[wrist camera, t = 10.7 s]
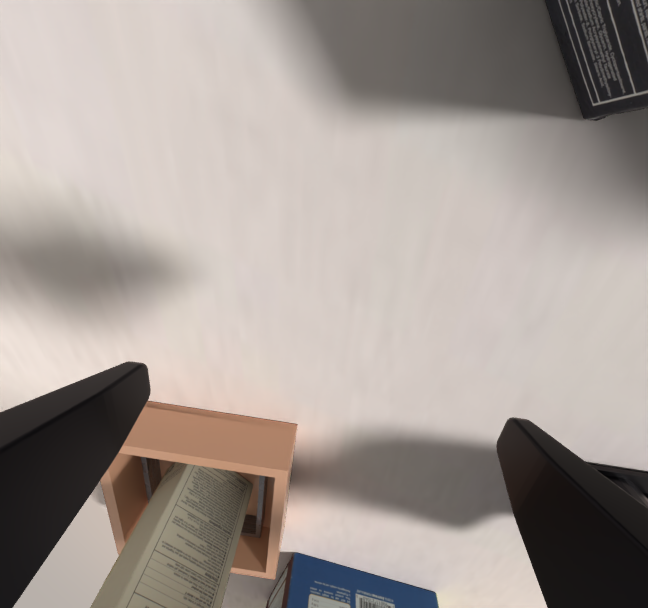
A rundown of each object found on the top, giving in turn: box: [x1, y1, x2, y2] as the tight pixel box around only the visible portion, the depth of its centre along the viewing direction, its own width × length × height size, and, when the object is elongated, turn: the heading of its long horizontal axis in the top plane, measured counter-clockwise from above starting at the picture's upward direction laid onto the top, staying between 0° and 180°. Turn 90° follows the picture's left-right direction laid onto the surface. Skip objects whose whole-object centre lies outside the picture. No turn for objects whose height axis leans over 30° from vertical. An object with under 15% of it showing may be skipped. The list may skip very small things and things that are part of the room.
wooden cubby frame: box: [100, 401, 297, 580], centre depth 25 cm, size 13×13×4 cm
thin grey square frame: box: [141, 457, 268, 538], centre depth 26 cm, size 9×9×2 cm
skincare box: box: [90, 462, 253, 608], centre depth 21 cm, size 6×4×12 cm
